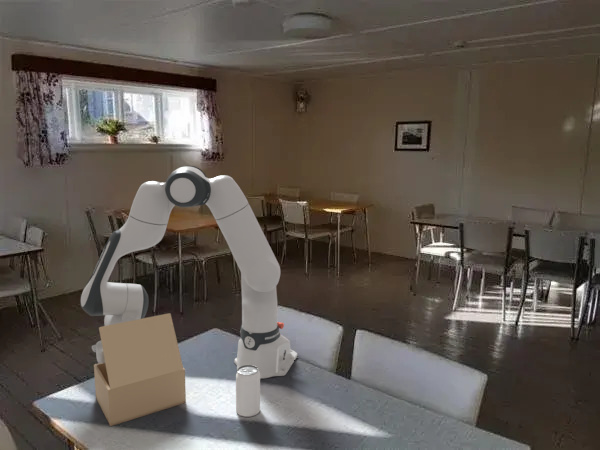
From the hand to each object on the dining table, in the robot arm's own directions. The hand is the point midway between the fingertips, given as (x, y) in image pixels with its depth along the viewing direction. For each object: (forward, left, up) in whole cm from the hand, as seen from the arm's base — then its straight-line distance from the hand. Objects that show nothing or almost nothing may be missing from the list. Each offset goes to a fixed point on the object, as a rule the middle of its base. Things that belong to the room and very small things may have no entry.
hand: (142, 356), depth 125 cm
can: (-12, +25, -15) cm, 32 cm away
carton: (-2, -4, -15) cm, 15 cm away
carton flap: (-1, 0, +2) cm, 2 cm away
